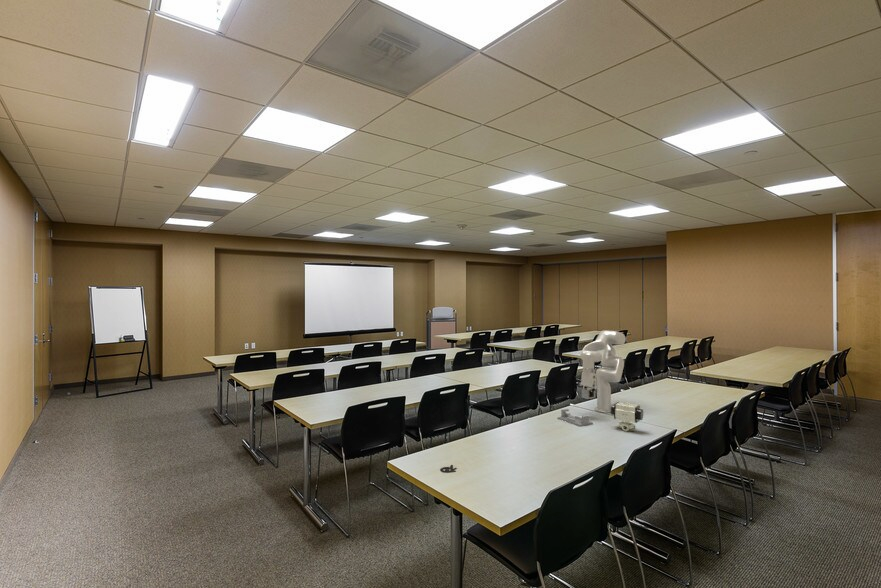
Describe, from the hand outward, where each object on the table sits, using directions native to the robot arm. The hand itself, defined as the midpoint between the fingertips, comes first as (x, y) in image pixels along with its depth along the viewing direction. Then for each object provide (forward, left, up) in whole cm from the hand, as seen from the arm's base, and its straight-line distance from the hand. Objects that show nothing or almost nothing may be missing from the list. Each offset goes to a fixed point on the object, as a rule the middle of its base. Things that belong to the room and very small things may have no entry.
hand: (588, 396), depth 293 cm
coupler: (0, 0, -1) cm, 1 cm away
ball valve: (-2, +29, -16) cm, 33 cm away
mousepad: (+126, +26, -16) cm, 130 cm away
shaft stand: (+13, 0, -16) cm, 21 cm away
